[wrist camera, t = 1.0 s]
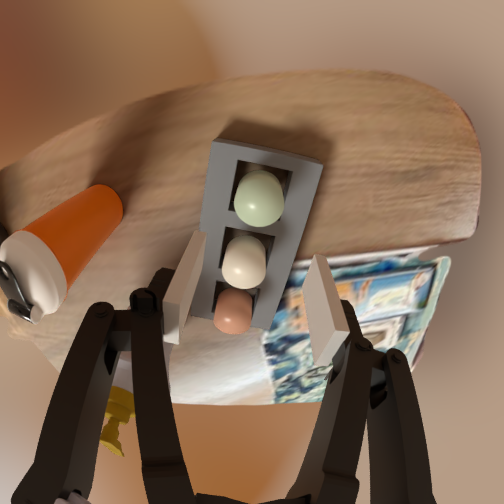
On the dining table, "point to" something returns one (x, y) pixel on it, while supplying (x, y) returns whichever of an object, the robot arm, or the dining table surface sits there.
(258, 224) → the pale green rounded knob
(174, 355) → the dining table surface
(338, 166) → the dining table surface
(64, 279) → the shaker bottle
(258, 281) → the cream egg
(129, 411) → the soap bottle
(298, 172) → the panel
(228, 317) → the brown egg
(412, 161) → the dining table surface
